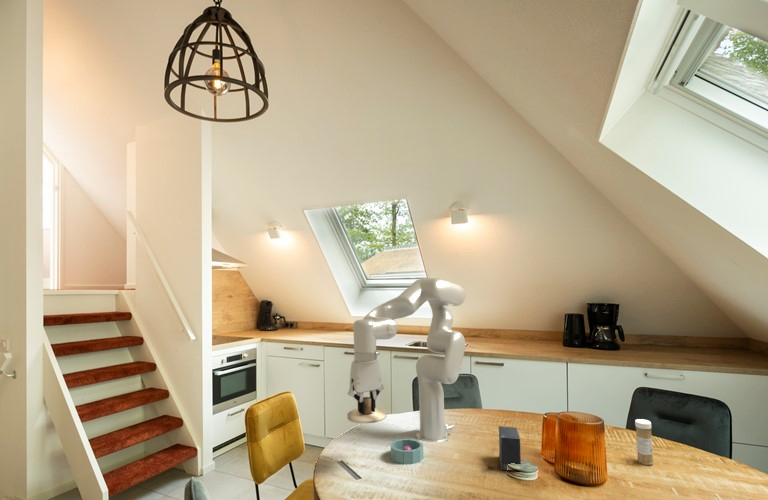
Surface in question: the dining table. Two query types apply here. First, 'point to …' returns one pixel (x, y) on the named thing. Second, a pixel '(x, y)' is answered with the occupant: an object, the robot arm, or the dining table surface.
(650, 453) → the sprinkles bottle
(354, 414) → the lid
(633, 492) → the dining table surface
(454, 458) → the dining table surface
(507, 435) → the small box
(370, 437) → the dining table surface
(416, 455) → the bowl
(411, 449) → the plum
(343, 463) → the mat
